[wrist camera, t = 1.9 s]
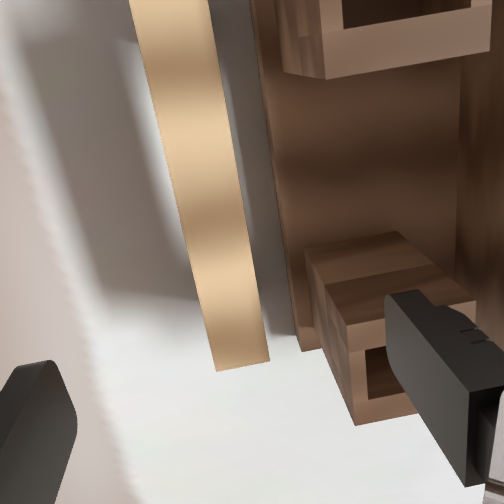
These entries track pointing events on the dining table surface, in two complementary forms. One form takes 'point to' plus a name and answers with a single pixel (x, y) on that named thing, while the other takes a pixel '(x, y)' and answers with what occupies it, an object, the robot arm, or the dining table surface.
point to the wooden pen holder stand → (384, 171)
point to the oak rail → (203, 172)
